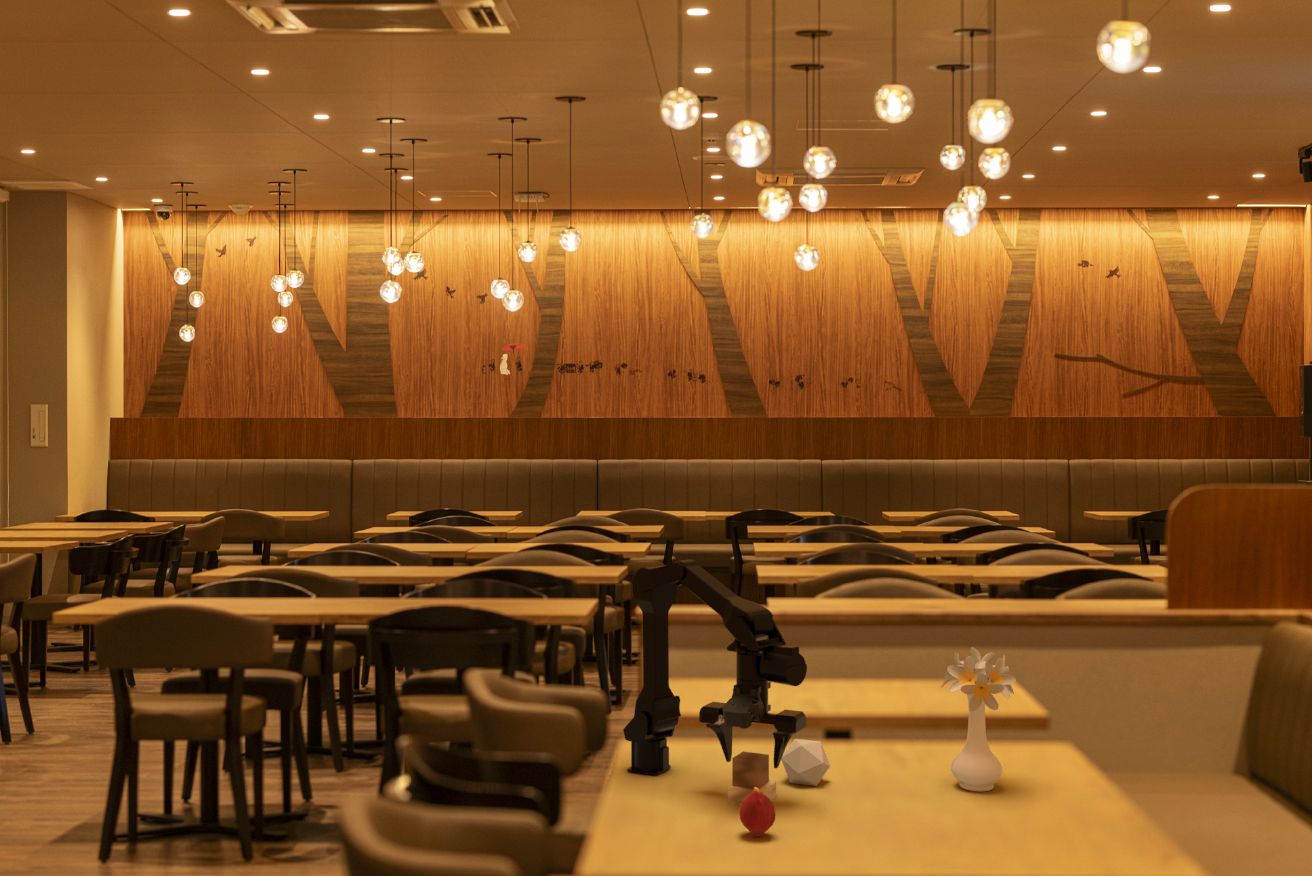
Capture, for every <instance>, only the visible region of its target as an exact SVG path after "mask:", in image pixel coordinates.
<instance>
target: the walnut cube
mask: <svg viewBox="0 0 1312 876" xmlns="http://www.w3.org/2000/svg"><path fill="white" fill-rule="evenodd" d="M769 759H770V754H767V753H760V752H751V751H745V750H744V751H741V752H740V753H739V754H737V755H735V756H734V757H731V761H732V763H731V764H732V773H731V774H732V783H731V784H732V786H738V787H745V788H752V789H753V788H754V787H757V788H758V789H760V788H761V787H763V786H764V785H765V784H767V783H768V782H769V780H770V763H769V762H770V760H769Z"/></svg>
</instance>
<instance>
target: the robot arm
mask: <svg viewBox="0 0 1312 876" xmlns="http://www.w3.org/2000/svg"><path fill="white" fill-rule="evenodd" d="M632 586H633V592H634V593H633V594H634V599H635V601H636V603H637V606H638V607H639V609H640V611H641V612H642V672H643V673H642V676H643V678H642V680H643V681H642V682H643V683H642V684H643V685H642V688H641V690H640V692H639V695H638V696H637V698H636V700H635V704H634V705H635V707H634V714H633V717H632V719H631V720H630V721H628V723H627V724H626V725H625V726H624V727H623V730H622V731H623V735H624V739H625V741H627V742H631V743H630V747H631V750H630V756H631V757H630V759H631V761H630V764H631V765H630V767H628V768H627V769H626V770H627V772H629V773H631V772H632V773H637V774H642V775H643V774H644V775H650V776H658V775H660V774H662V773H664V772H665V771H668V770H669V769H671V764H670V747H669V746H668V745H667V743H668V738H672V737H673V735H674V732H675V728H676V726H677V725H678V723H679V719H680V717H681V716H682V714H681V711H680V710H681V709H680V708H681V707H680V705H681V698H680V695H675V694H674V693H673V691H672V689H671V687H670V681H669V680H670V678H669V677H670V675H669V674H670V671H669V670H670V669H669V668H670V667H669V666H670V662H669V658H670V657H669V656H670V655H669V654H670V652H669V643H670V642H669V613H670V610H671V608H672V606H673V604H674V602H675V600H676V598H677V589H678V587H679V586H683V587H684V588H686V589H687V590H688V591H689V592H691V593H692V594H693V595H694V596H696V598H698V599H699V600H700V601H702V602H703V603H704V604H705V605H707V606H708V608H711V609H712V610H713V611H714V612H715V613H716V614H718V615H719V617H720V618H721V619H722V621H723V622H722V623H723V625H724V628H725V629H726V631H728V632H729V633H730V635H732V637H733V638H734V640H733V641H732V643H730V644H729V645H728V646H727V647H726V650H727V652H728V651H729V652H733V653H734V652H735V653H736V654H735V655H736V656H735V657H736V660H735V661H736V662H735V663H736V665H735V666H736V670H735V671H736V678H735V679H736V682H735V684H734V685H733V688H732V695H731V698H729V699H728V700H727V702H720V701H711V702H709V703H707V704H705V705H703V706H702V707H701V708H700V709H699V712H698V713H699V715H698V716H699V717H698V719H699V720H698V722H699V723H702V724H705V727H706V728H708V729H711V730H712V731H713V732H714V733H715V735H716V738H717V739H718V741H719V744H720V746H721V749H722V752H723V756H724V759H725V760H726V761H725V762H727V763H730V762H731V761H732V754H733V727H735V728H740V729H744V730H745V729H748V728H750V727H751V726H752V723H756V724H757V723H758V724H766V725H773V727H774V729H775V731H774V732H772V735H773V738H774V745H773V747H774V749H773V768H774V769H778V768H779V766H780V763H781V762H782V760H781V759H782V756H783V755H784V753H785V752H786V748H787V746H788V744H789V742H790V740H791V738H792V736H793V735H794V734H795V735H796V733H799V732H800V731H802V730H803V729H805V728H806V727H807V717H806V714H805V713H804V711H803V710H802V711H801V710H795V709H794V710H792V709H783V710H782V711H780V712H778V713H771V712H770V711H771V706H772V705H771V704H769V689H771V684H772V683H774V684H780V685H781V684H782V685H786V686H791V687H798V686H800V685H801V684H802V683H803V682H804V680H805V678H806V676H807V670H808V665H807V663H806V659H805V657H804V656H803V655H802V654H801V653H800V647H799V646H797V645H791V646H790V645H789V646H788V645H787V644H786V643H787V642H786V641H785V639H784V638H783V636H782V634H781V632H780V629H779V628H778V626H777V624H776V623H775V621H774V618H773V617H774V615H773V613H772V611H770V609H768V608H767V607H765V606H763V605H761V604H759V603H757V602H756V601H751V600H748V599H745V598H742V597H740V596H738V595H737V594H736V593H735V592H733V591H732V590H731V589H729V588H728V587H727V586H726V585H724V584H723V583H722V582H720V581H719V580H718V579H717V578H716V577H714V576H713V575H712V574H710V573H709V571H707V570H706V569H704V568H703V567H702V566H701V565H700V563H699V562H698V561H696V560H694V559H683V560H676V561H675V562H673V563H670V564H668V565H667V564H664V565H657V566H656V565H655V566H647V567H640V568H639V569H637V571H636V572H635V573H634V575H633V578H632Z"/></svg>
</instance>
